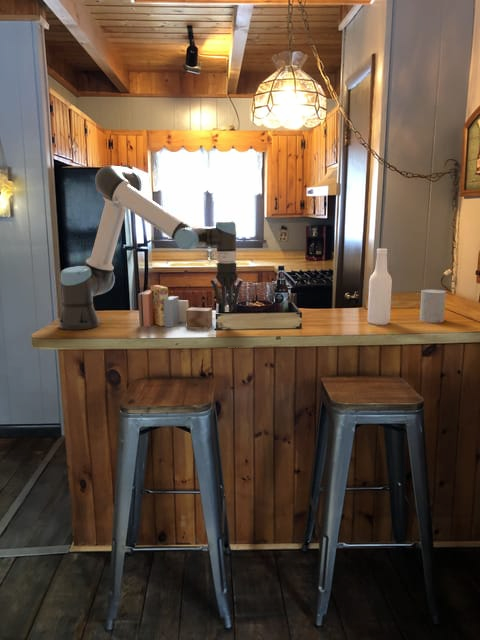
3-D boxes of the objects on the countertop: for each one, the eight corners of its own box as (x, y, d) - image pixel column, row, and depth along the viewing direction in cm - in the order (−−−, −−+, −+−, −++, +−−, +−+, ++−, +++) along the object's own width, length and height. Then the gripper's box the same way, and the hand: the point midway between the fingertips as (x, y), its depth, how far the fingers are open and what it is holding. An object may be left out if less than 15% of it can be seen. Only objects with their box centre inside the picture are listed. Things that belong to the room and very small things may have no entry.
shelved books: (143, 326, 206) (142, 294, 203) (151, 321, 215) (150, 290, 212) (172, 327, 204) (171, 294, 201) (179, 322, 212) (178, 291, 209)
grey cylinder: (444, 323, 208) (446, 293, 205) (419, 321, 211) (421, 292, 209) (443, 318, 217) (445, 289, 214) (419, 317, 220) (421, 288, 217)
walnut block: (186, 327, 203) (186, 310, 202) (190, 324, 209) (190, 307, 208) (208, 328, 202) (208, 310, 200) (212, 325, 207) (212, 308, 206)
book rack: (139, 326, 206) (138, 294, 203) (150, 320, 217) (148, 289, 214) (180, 327, 202) (179, 295, 200) (188, 321, 213) (187, 290, 211)
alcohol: (392, 324, 206) (397, 249, 199) (370, 325, 205) (374, 249, 199) (385, 320, 214) (389, 247, 208) (364, 320, 214) (367, 248, 207)
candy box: (170, 325, 207) (168, 287, 203) (160, 326, 204) (158, 288, 201) (160, 321, 214) (159, 284, 211) (151, 322, 212) (149, 285, 208)
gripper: (207, 262, 196) (209, 323, 200) (241, 263, 193) (242, 324, 198) (212, 261, 203) (214, 319, 208) (245, 261, 200) (245, 320, 205)
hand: (227, 321), depth 203 cm, fingers closed
